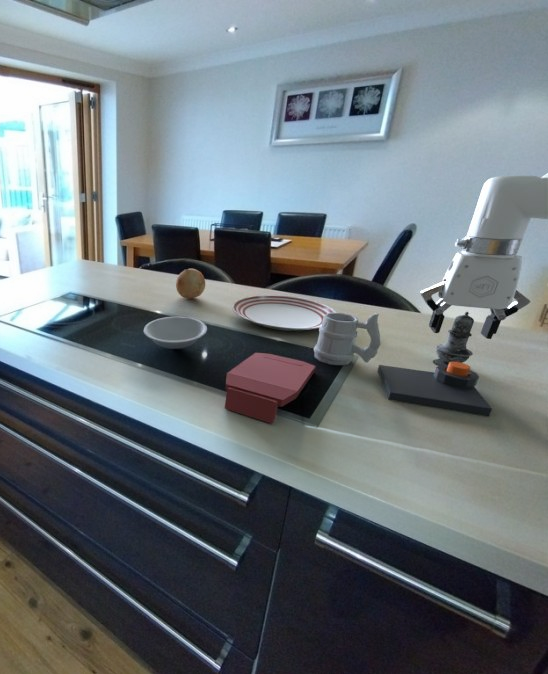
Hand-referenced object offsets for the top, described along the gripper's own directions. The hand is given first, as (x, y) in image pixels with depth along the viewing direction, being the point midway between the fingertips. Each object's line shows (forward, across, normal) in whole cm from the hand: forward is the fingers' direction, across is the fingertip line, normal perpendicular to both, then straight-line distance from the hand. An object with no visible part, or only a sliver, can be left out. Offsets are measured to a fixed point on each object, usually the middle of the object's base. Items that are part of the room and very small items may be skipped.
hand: (459, 333), depth 80 cm
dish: (+8, -56, -12) cm, 58 cm away
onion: (+8, -62, +30) cm, 69 cm away
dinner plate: (+8, -33, +18) cm, 38 cm away
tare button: (+4, -3, -11) cm, 12 cm away
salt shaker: (+7, 0, 0) cm, 7 cm away
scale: (+7, -7, -15) cm, 18 cm away
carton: (+7, -34, -24) cm, 42 cm away
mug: (+7, -20, -6) cm, 22 cm away
